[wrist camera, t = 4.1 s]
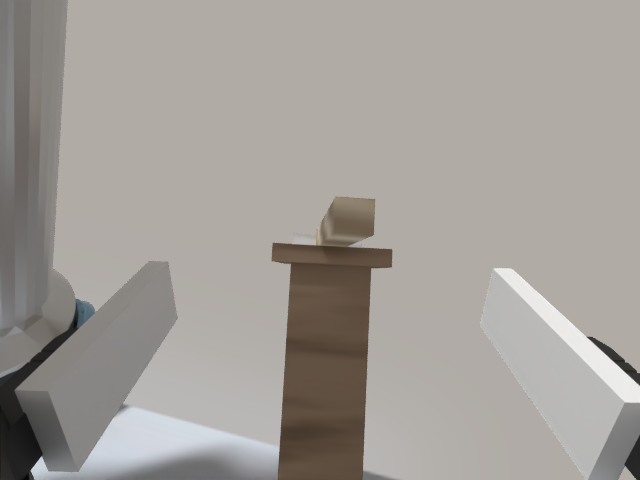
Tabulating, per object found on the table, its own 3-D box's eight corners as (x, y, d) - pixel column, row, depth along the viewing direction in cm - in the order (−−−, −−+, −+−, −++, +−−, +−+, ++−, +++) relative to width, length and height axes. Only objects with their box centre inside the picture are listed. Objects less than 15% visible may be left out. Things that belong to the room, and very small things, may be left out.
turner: (416, 237, 19) (417, 202, 19) (289, 229, 19) (292, 193, 19) (349, 255, 42) (350, 238, 42) (292, 251, 42) (293, 235, 42)
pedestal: (395, 630, 25) (407, 249, 28) (232, 618, 26) (258, 241, 28) (372, 515, 37) (381, 255, 40) (261, 508, 38) (277, 250, 40)
